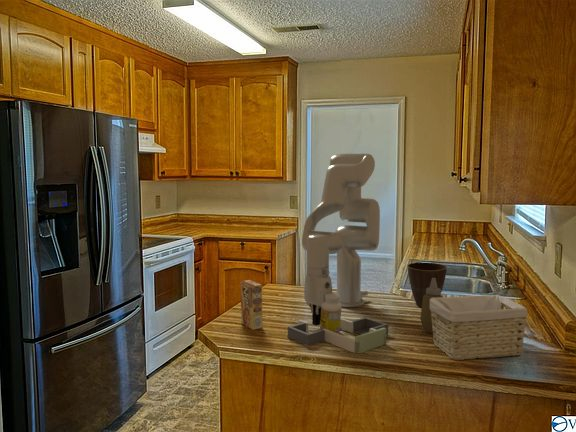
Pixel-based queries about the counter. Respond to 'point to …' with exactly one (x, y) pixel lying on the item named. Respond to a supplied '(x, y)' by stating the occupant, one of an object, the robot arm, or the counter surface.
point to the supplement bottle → (331, 313)
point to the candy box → (251, 304)
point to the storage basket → (478, 326)
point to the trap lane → (368, 339)
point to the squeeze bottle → (426, 312)
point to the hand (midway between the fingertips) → (317, 324)
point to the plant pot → (425, 278)
